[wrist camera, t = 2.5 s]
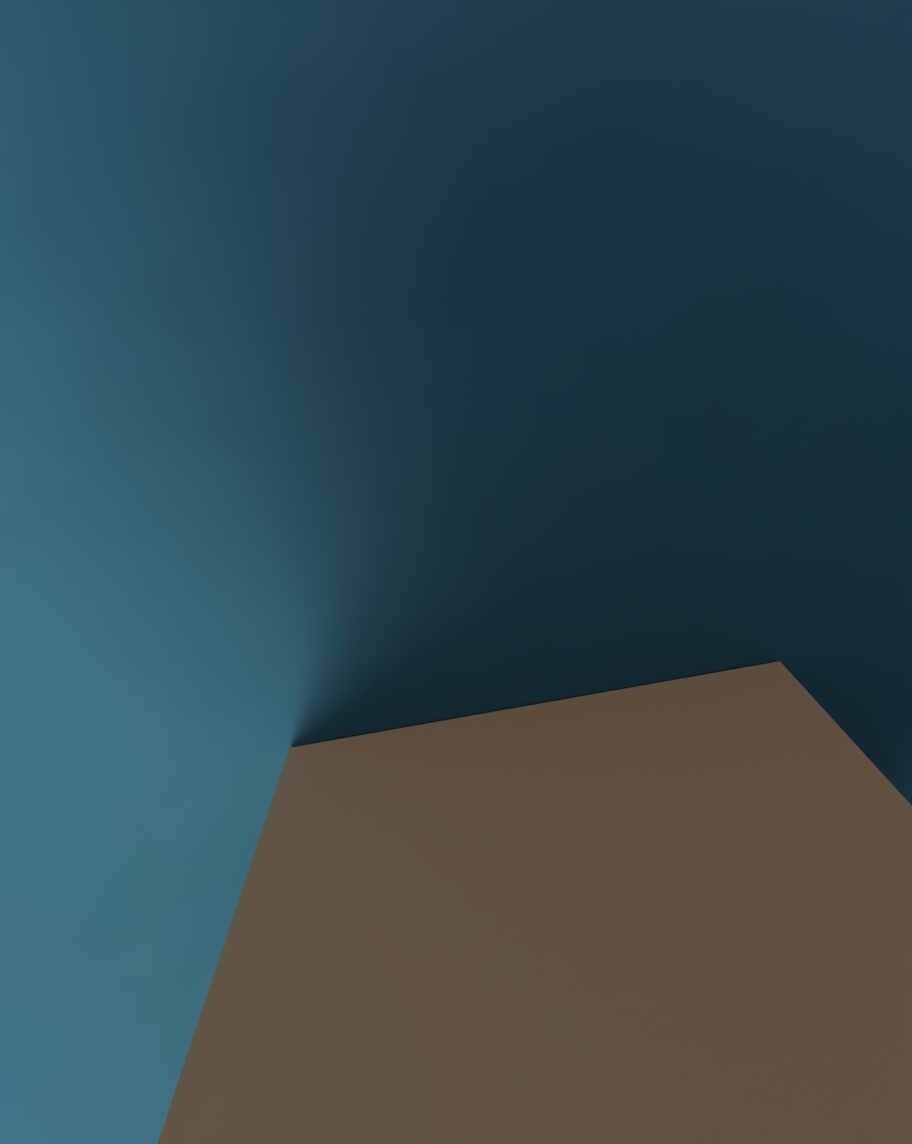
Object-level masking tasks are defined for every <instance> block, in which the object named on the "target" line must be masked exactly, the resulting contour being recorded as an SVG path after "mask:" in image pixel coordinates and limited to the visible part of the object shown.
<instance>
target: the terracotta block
mask: <svg viewBox="0 0 912 1144" xmlns="http://www.w3.org/2000/svg"><path fill="white" fill-rule="evenodd" d="M158 1144H912V805H911V804H910V803H909V802H908V801H907V800H906V799H905V798H904V797H903V796H902V794H901V793H900V792H899V791H898V790H897V789H896V788H895V787H894V786H893V785H892V784H891V782H890V781H889V780H888V779H887V778H886V777H885V776H884V775H883V774H882V773H881V771H880V770H879V769H878V768H877V767H876V766H875V765H874V764H873V763H872V762H871V761H870V759H869V758H868V757H867V756H866V755H865V754H864V753H863V752H862V751H861V750H860V748H859V747H858V746H857V745H856V744H855V743H854V742H853V741H852V740H851V739H850V738H849V736H848V735H847V734H846V733H845V732H844V731H843V730H842V729H841V728H840V727H839V725H838V724H837V723H836V722H835V721H834V720H833V719H832V718H831V717H830V716H829V715H828V713H827V712H826V711H825V710H824V709H823V708H822V707H821V706H820V705H819V704H818V702H817V701H816V700H815V699H814V698H813V697H812V696H811V695H810V694H809V693H808V692H807V690H806V689H805V688H804V687H803V686H802V685H801V684H800V683H799V682H798V681H797V679H796V678H795V677H794V676H793V675H792V674H791V673H790V672H789V671H788V670H787V669H786V667H785V666H784V665H783V664H782V663H781V662H780V661H778V662H773V663H767V664H761V665H756V666H750V667H744V668H739V669H733V670H727V671H722V672H716V673H710V674H705V675H699V676H693V677H688V678H682V679H676V680H671V681H665V682H659V683H654V684H648V685H642V686H637V687H631V688H625V689H620V690H614V691H608V692H603V693H597V694H591V695H586V696H580V697H574V698H569V699H563V700H557V701H552V702H546V703H540V704H535V705H529V706H523V707H518V708H512V709H506V710H501V711H495V712H489V713H484V714H478V715H472V716H467V717H461V718H455V719H450V720H444V721H438V722H433V723H427V724H421V725H416V726H410V727H404V728H399V729H393V730H387V731H382V732H376V733H370V734H365V735H359V736H353V737H348V738H342V739H336V740H331V741H325V742H319V743H314V744H308V745H302V746H297V747H291V748H290V749H289V752H288V755H287V758H286V761H285V764H284V767H283V770H282V773H281V776H280V779H279V782H278V785H277V788H276V791H275V794H274V797H273V800H272V803H271V806H270V809H269V812H268V815H267V818H266V821H265V824H264V827H263V830H262V833H261V836H260V839H259V842H258V845H257V848H256V851H255V854H254V857H253V860H252V863H251V866H250V869H249V872H248V875H247V878H246V881H245V884H244V887H243V890H242V893H241V896H240V899H239V902H238V905H237V908H236V911H235V914H234V917H233V920H232V923H231V926H230V929H229V932H228V935H227V938H226V941H225V944H224V947H223V950H222V953H221V956H220V959H219V962H218V965H217V968H216V971H215V974H214V977H213V980H212V983H211V986H210V989H209V992H208V995H207V998H206V1001H205V1004H204V1007H203V1010H202V1013H201V1016H200V1019H199V1022H198V1025H197V1028H196V1031H195V1034H194V1037H193V1040H192V1043H191V1046H190V1049H189V1052H188V1055H187V1058H186V1061H185V1064H184V1067H183V1070H182V1073H181V1076H180V1079H179V1082H178V1085H177V1088H176V1091H175V1094H174V1097H173V1100H172V1103H171V1106H170V1109H169V1112H168V1115H167V1118H166V1121H165V1124H164V1127H163V1130H162V1133H161V1136H160V1139H159V1142H158Z"/></svg>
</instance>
